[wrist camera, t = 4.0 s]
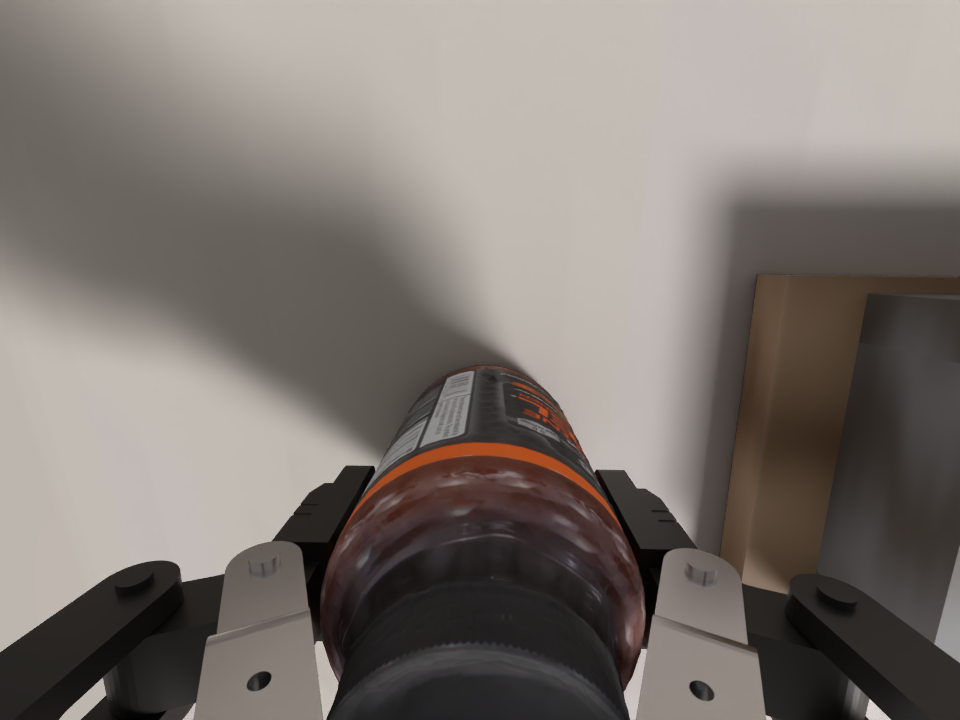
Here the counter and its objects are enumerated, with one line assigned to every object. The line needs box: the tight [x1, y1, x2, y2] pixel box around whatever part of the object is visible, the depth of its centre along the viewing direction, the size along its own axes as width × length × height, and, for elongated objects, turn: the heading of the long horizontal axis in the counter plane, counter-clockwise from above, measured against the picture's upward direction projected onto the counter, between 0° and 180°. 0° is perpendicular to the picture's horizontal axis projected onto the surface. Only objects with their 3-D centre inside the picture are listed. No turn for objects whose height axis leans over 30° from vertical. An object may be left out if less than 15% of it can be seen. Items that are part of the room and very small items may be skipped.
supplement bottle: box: [320, 366, 646, 720], centre depth 11 cm, size 6×6×11 cm
